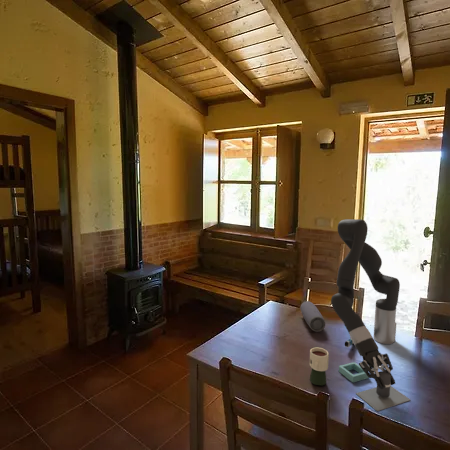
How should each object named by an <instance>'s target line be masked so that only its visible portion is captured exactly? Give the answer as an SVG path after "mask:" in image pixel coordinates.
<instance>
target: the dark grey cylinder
mask: <svg viewBox="0 0 450 450" xmlns="http://www.w3.org/2000/svg"><path fill="white" fill-rule="evenodd" d="M378 373H379V377H381V379H382V381H383V383H384V384H385V386H386V388H383V389H380V388H379V387H378V385H377V384H376V387H377V390H376V393H377V394H378V395H379V396H381V397H385V398H387V397H389V396H390V386H392V385H391V375H392V374H391V375H390V374H389V373H387V372H383V371H382V370H380V371H378Z"/></svg>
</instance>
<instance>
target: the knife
mask: <svg viewBox="0 0 450 450" xmlns="http://www.w3.org/2000/svg"><path fill="white" fill-rule="evenodd" d="M353 344H354V343H353V341H352V339H351V337H349V339H347V340H345V342H344V346H345V348H349V347H350V346H352V345H353Z"/></svg>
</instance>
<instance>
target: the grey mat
mask: <svg viewBox="0 0 450 450" xmlns="http://www.w3.org/2000/svg"><path fill="white" fill-rule="evenodd" d="M376 390H377V386H376V387H372V388H368V389H366V390H363V391H359V392H356V393H355V395H357V396H358V397H359V398H360V399H362V400H363V401H364V402H365V403H366V404H367V405H369V406H370V407H371V409H374V410H375V411H376V412H380V411H383V410H386V409H388V408H391V407H395V406H397V405H400V404H404V403H407V402H410V401H411V398H409V397H407V396H406V395H405V394H403V393H402V392H401V391H399V390H397V389H396V388H395V387H393V385H391V386H390V396H389V397H387V398H385V397H381V396H379V395H378V394H377V393H376Z"/></svg>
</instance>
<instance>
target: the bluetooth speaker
mask: <svg viewBox="0 0 450 450" xmlns="http://www.w3.org/2000/svg"><path fill="white" fill-rule="evenodd" d="M299 310H300V312H301V314H302V316H303V319H304V320H305V323H306V324H307V325H308V326H309V328H310V329H311V330H312V331H313V332H318V333H319V332H322V331H323V330H324V329H325V327H326V321H325V318H324V316H323V315H322V314H321V312H320V311H319V308H317V306H316V305H315V303H313V302H311V301H309V300H307V301H306V300H305V301H303V302H302V303H301V305H300V307H299Z"/></svg>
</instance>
